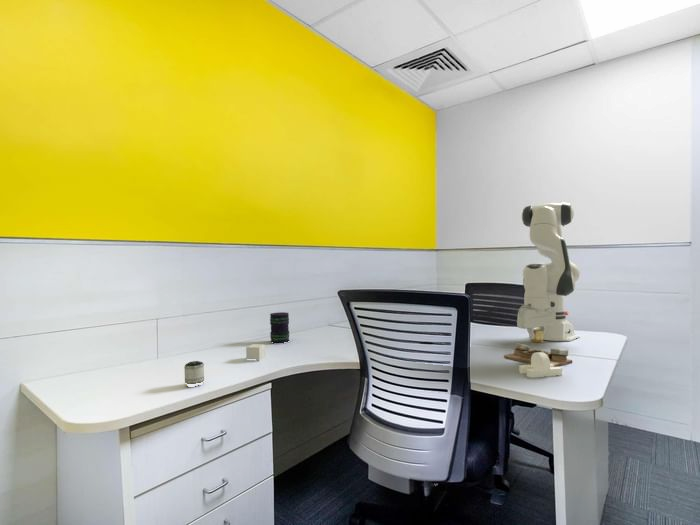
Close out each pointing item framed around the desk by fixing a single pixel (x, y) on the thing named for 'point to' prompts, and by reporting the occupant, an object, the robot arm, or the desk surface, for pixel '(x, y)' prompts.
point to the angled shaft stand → (559, 354)
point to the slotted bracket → (540, 366)
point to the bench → (525, 355)
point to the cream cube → (255, 351)
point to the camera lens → (194, 372)
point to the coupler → (537, 336)
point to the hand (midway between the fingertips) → (536, 337)
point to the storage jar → (279, 327)
